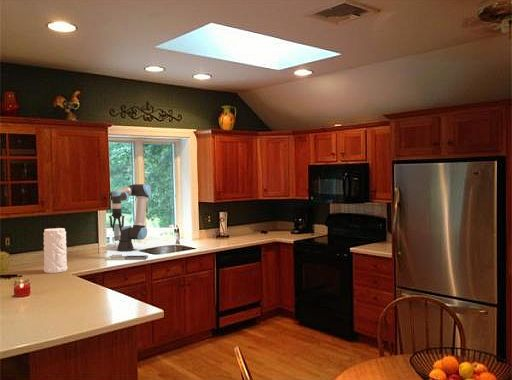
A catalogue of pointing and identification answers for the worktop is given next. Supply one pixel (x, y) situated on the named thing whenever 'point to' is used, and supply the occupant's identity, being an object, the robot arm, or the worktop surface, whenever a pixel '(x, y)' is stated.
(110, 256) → the tray
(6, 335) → the worktop surface
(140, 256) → the slot channel
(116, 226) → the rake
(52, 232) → the paper towel roll
